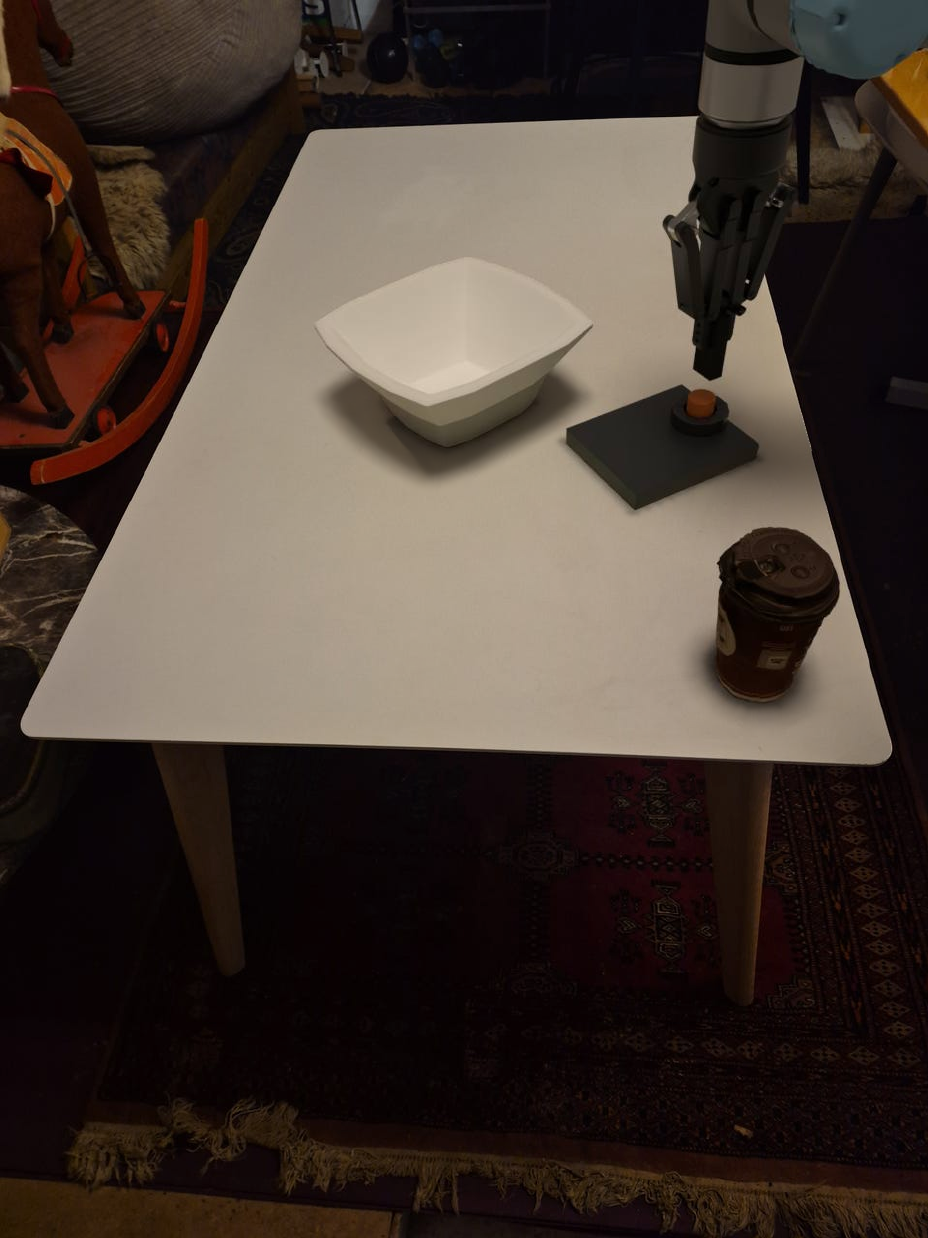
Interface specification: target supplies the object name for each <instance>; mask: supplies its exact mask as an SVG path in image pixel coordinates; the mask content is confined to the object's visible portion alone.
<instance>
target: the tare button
mask: <svg viewBox="0 0 928 1238" xmlns="http://www.w3.org/2000/svg"><path fill="white" fill-rule="evenodd" d="M690 391H691V392H690V393H689V395H688V400H687V408H686V411H687V413H688V414H689V415H690V416H693V417H697V418H704V417H709V416H711V415H712V414H713V412H714V407H715V401H716V396H717V395H716V394H715V393H714V392H713V391H712V390H709V389H705V388H698V389H694V390H690ZM715 395H716V396H715Z"/></svg>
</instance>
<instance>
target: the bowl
mask: <svg viewBox="0 0 928 1238" xmlns="http://www.w3.org/2000/svg"><path fill="white" fill-rule="evenodd" d="M313 325H314V329H315V330H316V332H317V334H318V336H319V337H320V339H321V340H322V342H323V344H324V345H325V347H326V349H328V351H330V352H331V353H332V355H334V356H335V357H336V358H337V359H338V360H340V362H341V363H342V364H344V365H345V366H346V367H347V369H349V370H350V371H351V372H352V373H353V374H354V375H356V376H357V377H358V378H359V379H361V380H362V381H364V383H366V384H367V385H368V386H370V387H371V388H372V389H374V390H375V391H376V392H377V393H378V394H379V396H380V397H381V399H382V400H383V402H384V403H385V405H386V406H387V408H388V409H389V411H390V412H391V413H392V415H394V416H395V417H396V419H398V420H399V421H400V423H402V424H403V425H404V426H405V427H406V428H408V429H409V430H411V431H412V432H414V433H416V434H417V435H418V436H420V437H422V438H424V439H425V440H427V441H429V442H431V443H434V444H436V445H438V446H441V447H443V448H451V447H454V446H456V445H460V444H464V443H467V442H470V441H472V440H474V439H475V438H478V437H480V436H482V435H483V434H485V433H487V432H490V431H491V430H493V429H495V428H497V427H499V426H501V425H502V424H504V423H507V422H508V421H510V420H512V419H514V418H515V417H517V416H520V415H521V414H522V413H523V412H524V411H525V410H526V409H527V408H528V407H530V406H531V405H532V404H533V403H534V401H535V399H536V397H537V395H538V393H539V391H540V389H541V387H542V385H543V383H544V381H545V379H546V377H547V375H548V373H549V372H550V371H551V370H552V369H553V368H554V367H555V366H556V365H557V364H558V363H559V362H561V360H562V359H563V358H564V357H565V356H566V355H567V354H568V353H569V352H570V351H571V350H572V349H573V348H574V347H575V346H576V345H577V344H578V343H579V342H580V341H581V340H582V339H583V338H584V337H585V336H586V335H587V334H588V333H589V332H590V331H591V330H592V328H593V326H594V323H593V320H591V319H590V317H588V316H587V314H585V313H584V312H583V311H581V310H580V309H579V307H577V306H576V305H575V304H574V303H573V302H571V301H570V300H568V299H566V297H564V296H563V295H561V294H559V293H557V292H556V291H554V290H552V289H551V288H549V287H548V286H546V285H545V284H543V283H541V282H539V281H538V280H536V279H533V278H532V277H528V276H526V275H525V274H522V273H519V272H517V271H515V270H512V269H510V268H507V267H505V266H503V265H500V264H498V263H494V262H490V261H487V260H483V259H480V258H476V257H473V256H469V255H468V256H463V257H460V258H457V259H453V260H449V261H446V262H441V263H439V264H434V265H431V266H429V267H427V268H423V269H422V270H419V271H417V272H414V273H412V274H409V275H407V276H405V277H402V278H400V279H398V280H395V281H393V282H390V283H388V284H386V285H383V286H381V287H379V288H377V289H374V290H372V291H369V292H367V293H365V294H362V295H360V296H359V297H356V298H354V299H352V300H349V301H346V302H345V303H343V304H342V305H340V306H339V307H337V308H336V309H334V310H332V311H331V312H328V314H326V315H324V316H323V317H321V318H320V319H318V320H317V321H316V322H314V324H313Z"/></svg>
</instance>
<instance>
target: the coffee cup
mask: <svg viewBox="0 0 928 1238" xmlns="http://www.w3.org/2000/svg"><path fill="white" fill-rule="evenodd" d="M716 566H718V572H719V575H718V579H719V580H720V581H721V584H720V585H719V589H718V598H717V616H716V617H717V618H716V626H715V627H716V629H715V644H716V651H715V658H714V666H715V667H714V668H715V671H716V675H717V677H718V678H719V681H720V683H721V685H722V686H723V687H724V688H725V689H727V690H728V691H729V692H730V693H731V694H732V695H733V696H735V697H736V698H741V699H745V700H748V701H749V702H759V703H766V702H773V701H775V700H777V699H780V698H781V696H783V695H784V694H785V693H786V692H787V691H788V690H789V689H790V688H791V686H792V684H793V683H794V678H795V676H796V675H797V674H798V672H799V670H800V668H801V667H802V664H803V662H804V660H805V658H806V657H807V654H808V650H809V649H810V648H811V646H812V644H813V642H814V639H815V638H816V636H817V634H818V633H819V629H820V628H821V627H822V625H823V621H824V620H825V618H827V617H828V616H830V615H831V613H832V612H833V610H834V609H835V608H836V606H837V604H838V602H839V599H840V595H841V588H840V585H841V582H840V578H839V574H838V571H837V569H836V566H835V563H834V561H833V560H832V557H831V555H830V554H829V553H828V552H827V551H826V550H825V549H824V548H823V547H821V545H820V544H819V543H817V541H816V540H814V539H813V538H812V537H811V536H809V535H808V534H806V533H804V532H802V531H800V530H798V529H794V528H789V527H784V526H783V527H781V526H777V527H773V526H767V527H758V528H753V529H751V532H747V533H746V534H744V536H742V537H740V538H739V539H738V541H736V542H734V543H733V544H731V545H730V547H729V548H727V549H725V550H724V552H722V554H721V555H720V556H719V560H718V561H717V562H716Z"/></svg>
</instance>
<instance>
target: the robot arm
mask: <svg viewBox="0 0 928 1238" xmlns="http://www.w3.org/2000/svg"><path fill="white" fill-rule="evenodd" d="M923 48H928V0H708V9H707V18H706V29H705V41H704V51H703V56H702V65H701V74H700V85H699V94H698V102H697V105H698V109H699V110H700V111H701V113H700V114H699V115H698V116H697V118H696V119H695V127H694V137H693V145H692V156H691V161H692V165H693V169H694V180H693V183H692V186H691V188H690V190H689V191H688V196H687V202H688V203H687V204H686V205H685V206H684V207H683V208H682V209H681V210H680V211H679V213H677V214H676V215H673V214H667V215H666V216H665V217H664V218H663V220H662V228H663V230H664V231H665V233H666V235H667V238H668V239H669V240H670V248H671V258H672V267H673V276H674V285H675V294H676V302H677V303H676V305H677V309H678V310H680V311H681V312H682V313H684V314H685V315H686V316H688V317H690V318H691V319H693V320H694V321H693V329H692V336H691V343H692V345H693V346H695V347H694V348H695V349H694V350H695V351H694V357H693V364H692V370H693V371H695V372H696V373H697V374H698V375H700V376H702V377H703V378H704V379H705V380H707V381H708V382H712V381H714V380H717V379H720V378H722V377H723V373H724V366H725V359H726V353H727V347H728V342H730V341H731V339H732V337H733V335H734V329H735V323H736V318H737V317H742V316H743V315H745V314H746V312H747V306H744V305H743V304H744V303H745V302H746V301H748V302H752V301H754V300H755V299H756V298H757V297H758V294H759V292H760V288H761V286H762V282H763V281H764V278H765V275H766V272H767V270H768V266H769V263H770V261H771V258H772V255H773V253H774V250H775V247H776V245H777V241H778V238H779V236H780V233H781V231H782V228H783V226H784V222H785V220H786V219H785V218H786V217H787V215H788V213H790V211H791V208H792V207H793V206H794V204H795V202H796V201H797V198H798V196H799V189H797V188H796V187H793V186H791V185H788V184H786V183H784V182H783V181H780V180H781V179H780V177H781V176H780V175H781V174H780V169H781V168H782V167H783V166H784V165H785V163H786V160H787V155H788V150H789V145H790V138H791V133H792V128H793V123H794V119H793V117H792V115H791V112H793V111H794V110H795V109H796V108H797V102H798V97H799V90H800V85H801V79H802V73H803V68H804V62H805V60H806V62H807V63H808V64H810V65H813V66H814V68H816V69H818V70H824V71H825V72H827V73H828V74H834V75H837V76H838V75H839V76H842V77H845V78H848V79H853V80H869V79H873V78H878V77H880V76H881V77H882V76H883V75H886V74H887V73H888V72H890V71H891V70H892V69H894V68H895V67H897V66H899V64H900V63H902V62H904V61H906V60H907V59H908V58H909V57H911V56H912V55H913V54H914V53H915V52H916V51H917V50H918V49H923ZM697 221H698V222H697ZM697 237H698V238H697ZM698 239H699V240H698ZM747 281H748V282H747ZM736 316H737V317H736Z"/></svg>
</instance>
